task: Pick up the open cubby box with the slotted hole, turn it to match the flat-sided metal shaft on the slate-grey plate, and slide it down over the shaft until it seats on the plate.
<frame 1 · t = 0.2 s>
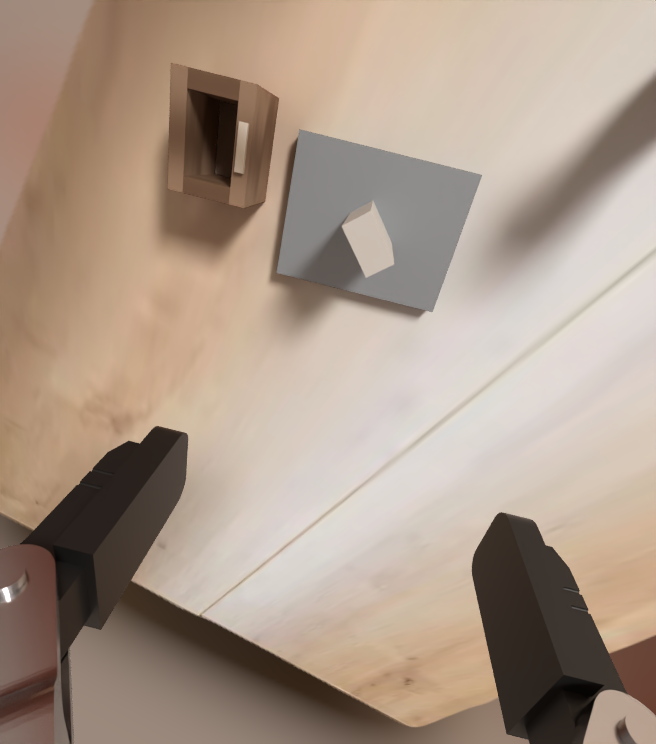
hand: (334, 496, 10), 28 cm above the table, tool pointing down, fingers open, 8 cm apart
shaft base: (371, 225, 34), on the table
open cubby box: (237, 144, 32), on the table
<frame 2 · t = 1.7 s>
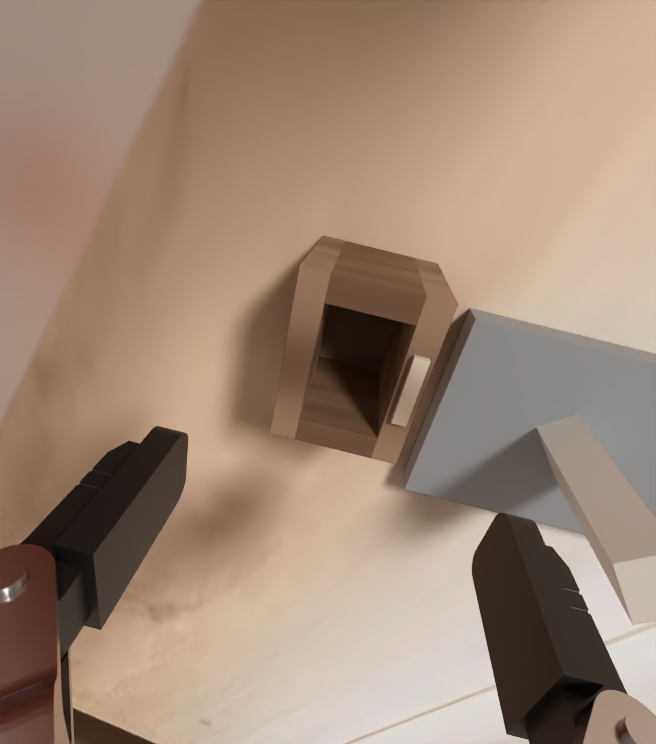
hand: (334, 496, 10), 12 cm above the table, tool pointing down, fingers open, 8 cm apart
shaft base: (555, 430, 23), on the table
open cubby box: (361, 321, 21), on the table
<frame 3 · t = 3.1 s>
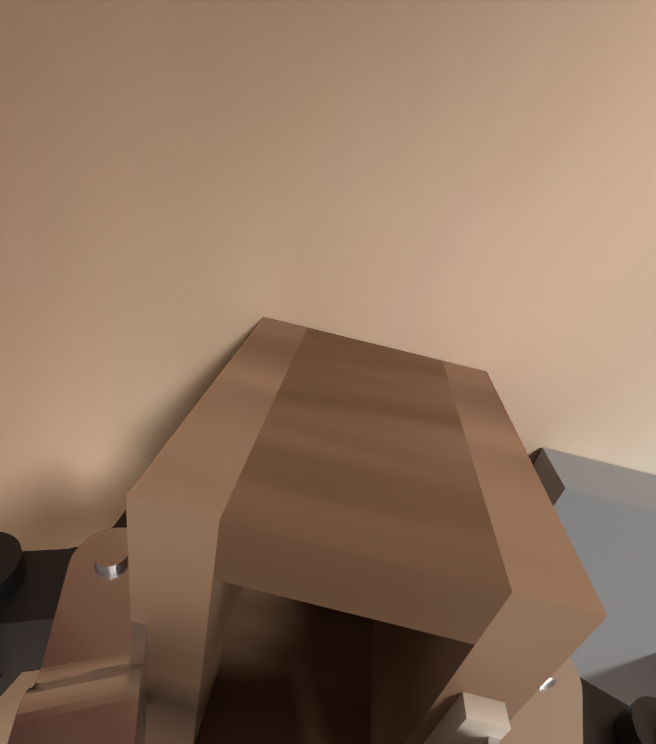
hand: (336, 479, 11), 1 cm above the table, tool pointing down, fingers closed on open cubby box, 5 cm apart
open cubby box: (340, 458, 12), on the table, touching gripper
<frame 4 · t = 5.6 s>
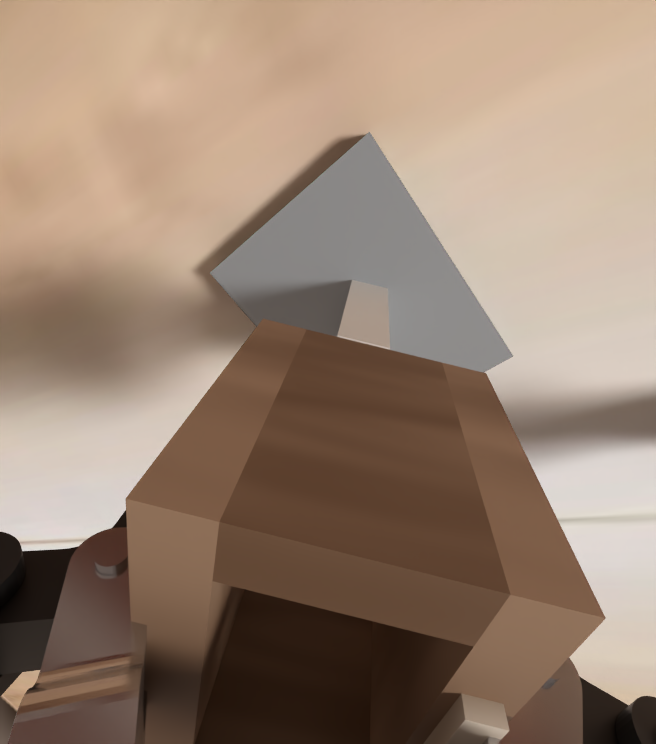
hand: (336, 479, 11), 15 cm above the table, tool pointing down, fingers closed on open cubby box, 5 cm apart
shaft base: (363, 306, 24), on the table
open cubby box: (340, 460, 12), point 14 cm above the table, touching gripper
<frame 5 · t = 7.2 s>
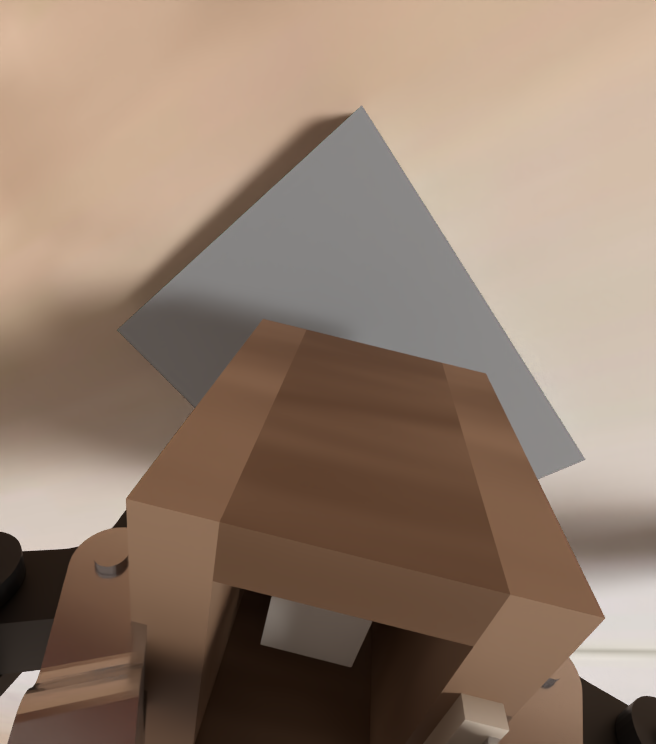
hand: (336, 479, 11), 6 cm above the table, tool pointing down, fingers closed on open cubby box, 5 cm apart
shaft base: (354, 375, 16), on the table
open cubby box: (340, 460, 12), point 5 cm above the table, touching gripper
when the fingers open (4 cm above the table, at t = 8.2 s): open cubby box drops 2 cm, resting on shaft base.
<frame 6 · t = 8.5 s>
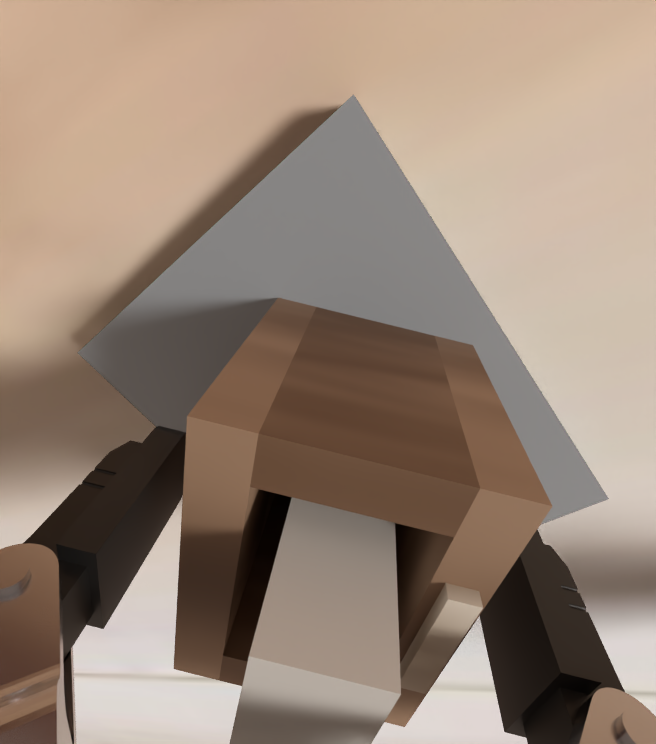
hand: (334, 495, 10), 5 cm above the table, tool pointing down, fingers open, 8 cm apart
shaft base: (348, 402, 14), on the table
open cubby box: (345, 426, 13), point 1 cm above the table, touching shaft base
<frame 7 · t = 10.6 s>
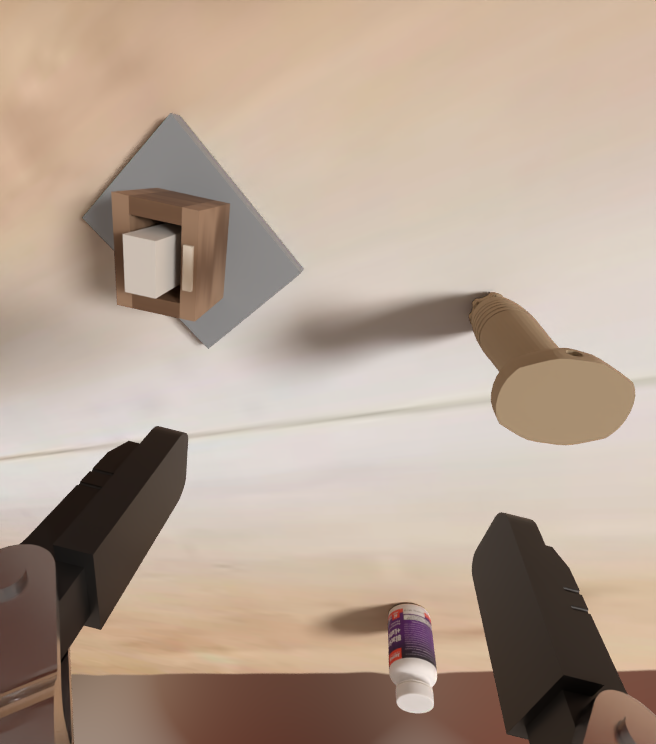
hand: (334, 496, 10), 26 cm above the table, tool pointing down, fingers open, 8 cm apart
pill bottle: (408, 613, 52), on the table
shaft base: (199, 242, 33), on the table
open cubby box: (192, 245, 32), point 1 cm above the table, touching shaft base
handle: (487, 309, 34), on the table
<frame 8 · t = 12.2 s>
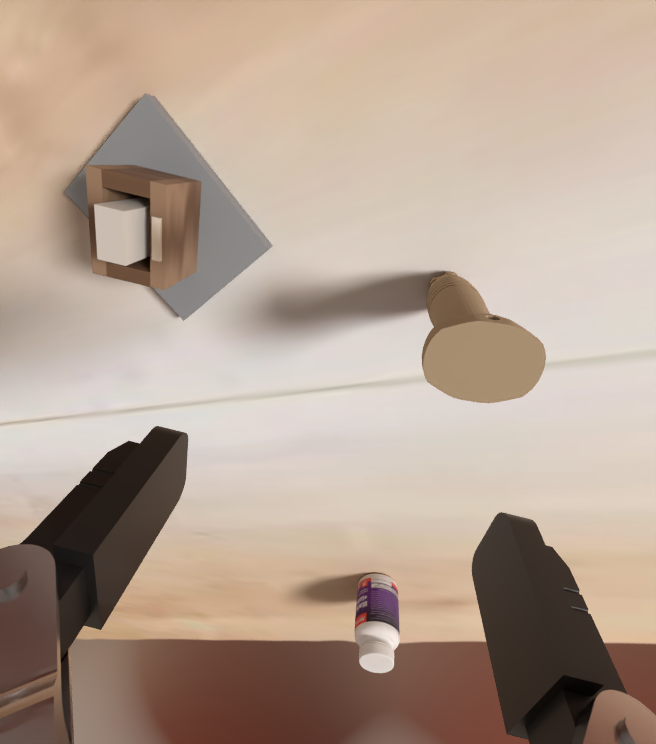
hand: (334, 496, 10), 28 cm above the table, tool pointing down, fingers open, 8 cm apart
pill bottle: (377, 583, 55), on the table
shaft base: (174, 218, 35), on the table
open cubby box: (166, 220, 34), point 1 cm above the table, touching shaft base
handle: (445, 288, 36), on the table
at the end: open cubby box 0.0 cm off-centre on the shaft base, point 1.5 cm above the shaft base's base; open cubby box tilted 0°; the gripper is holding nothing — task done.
